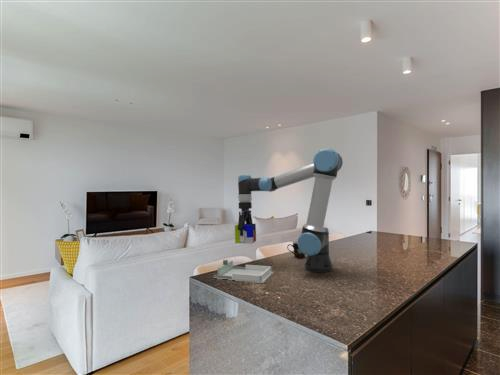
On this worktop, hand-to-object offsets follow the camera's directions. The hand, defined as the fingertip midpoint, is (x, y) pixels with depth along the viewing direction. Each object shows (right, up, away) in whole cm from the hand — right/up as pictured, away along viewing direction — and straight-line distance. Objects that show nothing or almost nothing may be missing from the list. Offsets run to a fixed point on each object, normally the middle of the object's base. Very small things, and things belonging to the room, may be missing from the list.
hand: (245, 240), depth 163 cm
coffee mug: (+34, -16, +23) cm, 44 cm away
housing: (0, -15, -18) cm, 24 cm away
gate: (-10, -14, -15) cm, 23 cm away
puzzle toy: (0, -1, 0) cm, 1 cm away
